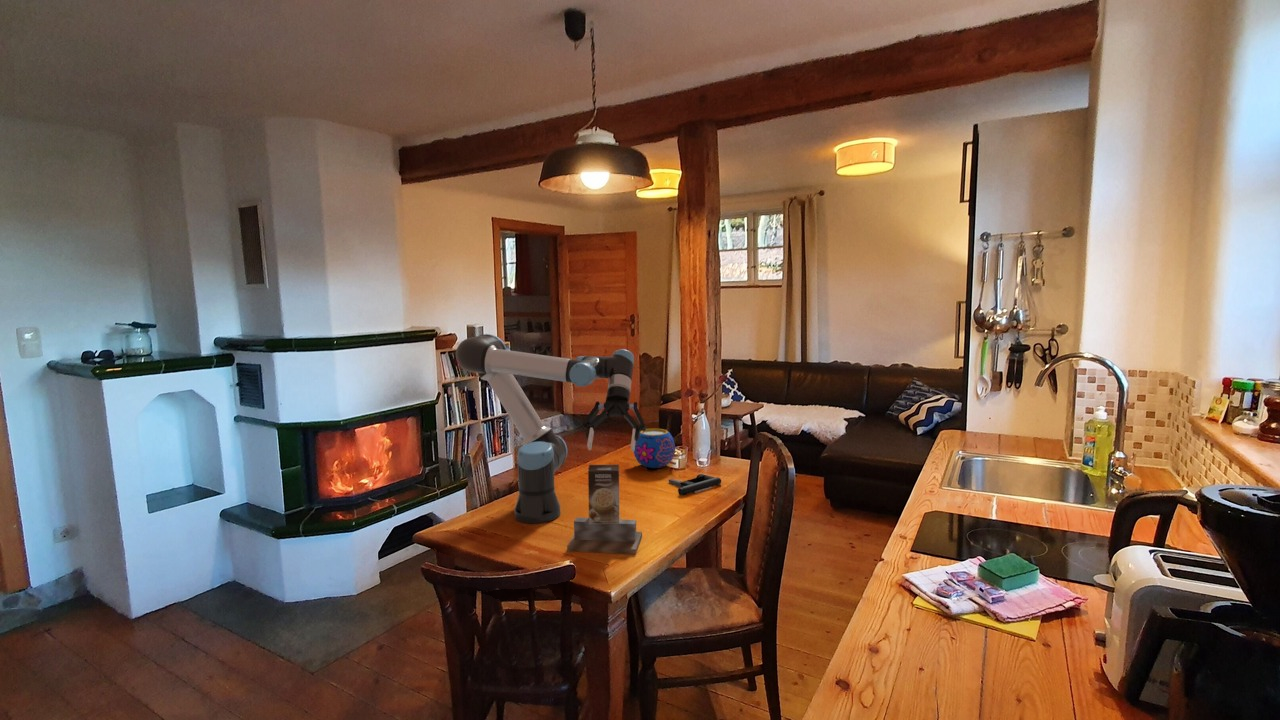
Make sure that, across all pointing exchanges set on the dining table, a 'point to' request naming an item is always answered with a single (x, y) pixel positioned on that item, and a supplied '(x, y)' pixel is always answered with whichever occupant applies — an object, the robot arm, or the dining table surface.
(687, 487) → the door handle
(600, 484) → the coffee box
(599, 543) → the ridge stand
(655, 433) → the ceramic pot
